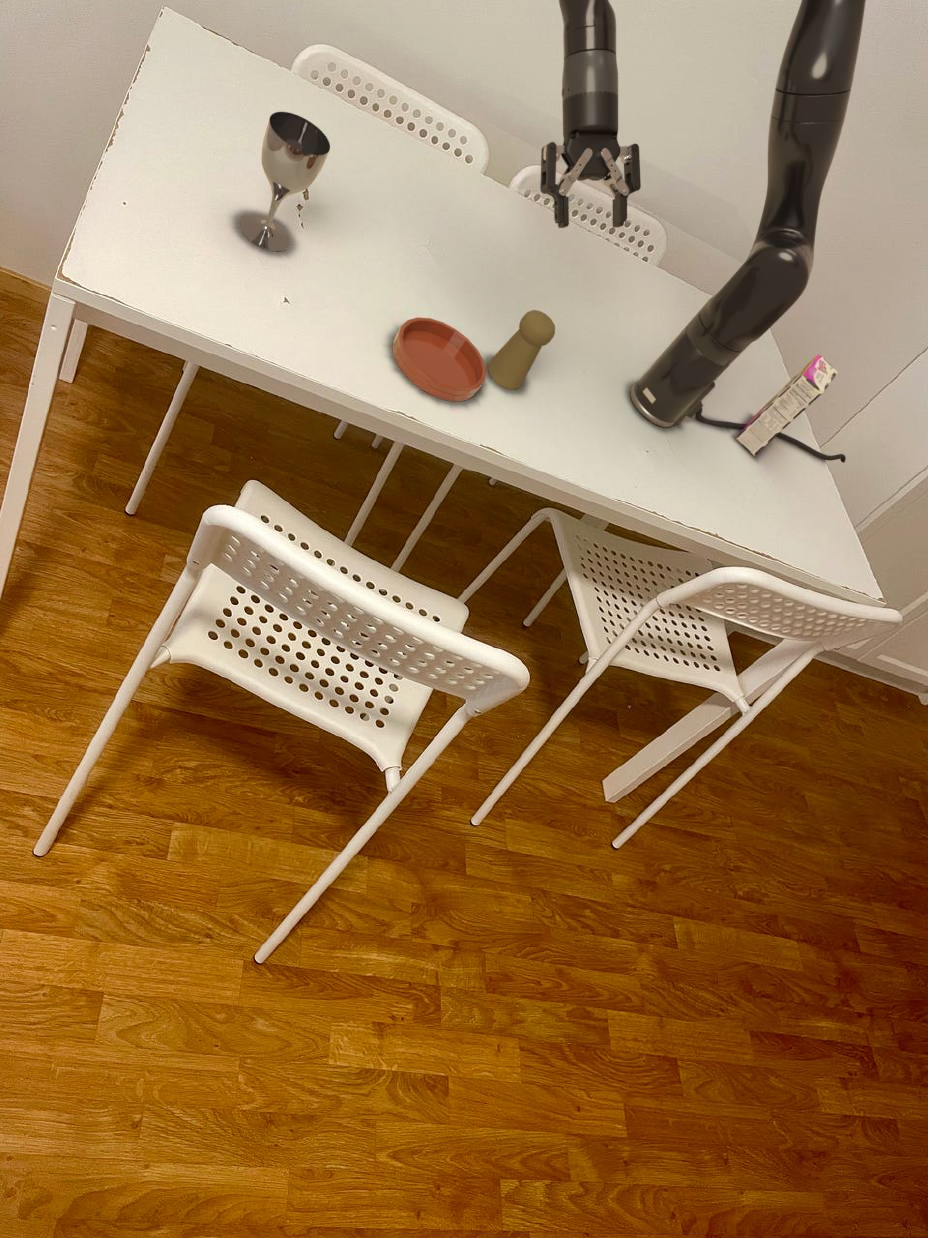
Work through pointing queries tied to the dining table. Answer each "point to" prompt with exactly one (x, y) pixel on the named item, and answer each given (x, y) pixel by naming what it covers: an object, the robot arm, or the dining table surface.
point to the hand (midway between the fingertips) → (591, 226)
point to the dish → (439, 359)
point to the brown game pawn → (521, 350)
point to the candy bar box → (787, 404)
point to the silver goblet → (285, 172)
